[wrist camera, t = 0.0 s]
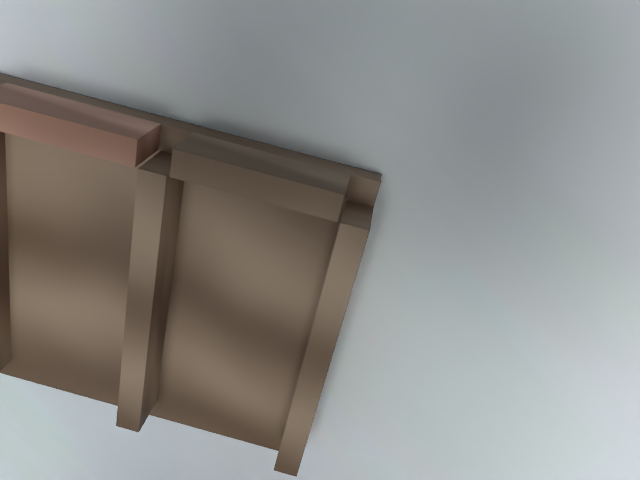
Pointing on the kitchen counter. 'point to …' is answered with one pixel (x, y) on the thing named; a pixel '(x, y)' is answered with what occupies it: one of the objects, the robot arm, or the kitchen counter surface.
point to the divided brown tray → (173, 265)
